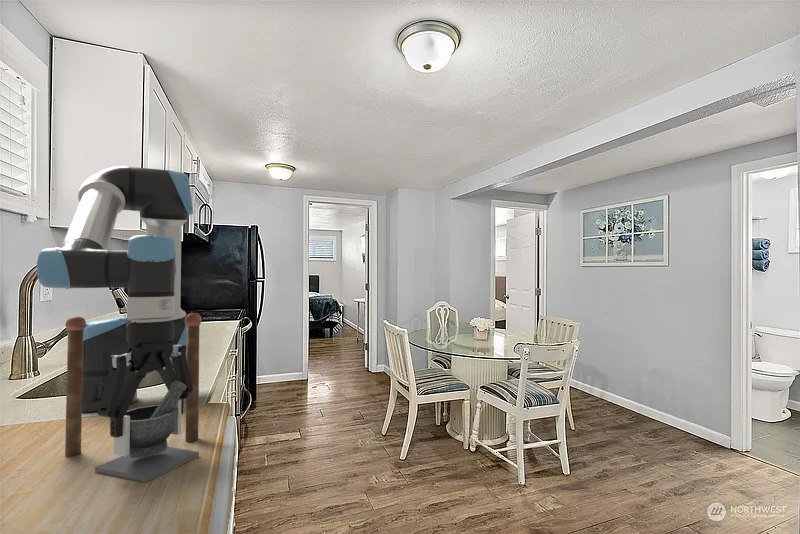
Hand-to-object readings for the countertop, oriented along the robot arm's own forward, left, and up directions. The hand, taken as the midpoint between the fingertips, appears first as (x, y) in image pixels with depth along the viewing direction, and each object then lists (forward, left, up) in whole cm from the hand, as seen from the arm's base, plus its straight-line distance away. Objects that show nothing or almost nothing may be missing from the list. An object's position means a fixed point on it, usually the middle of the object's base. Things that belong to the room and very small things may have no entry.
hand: (149, 443), depth 76 cm
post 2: (-11, -2, -4) cm, 12 cm away
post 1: (+2, -18, -4) cm, 18 cm away
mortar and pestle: (-1, 0, -2) cm, 2 cm away
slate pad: (0, 0, -4) cm, 4 cm away
